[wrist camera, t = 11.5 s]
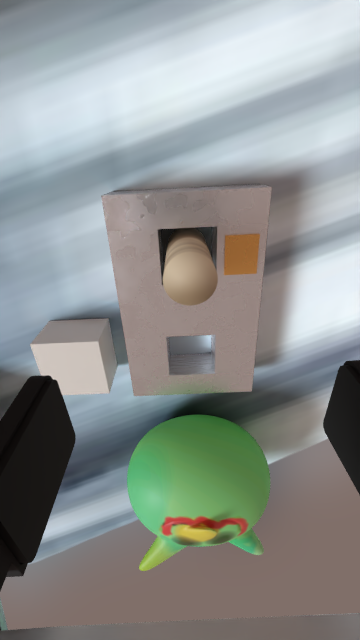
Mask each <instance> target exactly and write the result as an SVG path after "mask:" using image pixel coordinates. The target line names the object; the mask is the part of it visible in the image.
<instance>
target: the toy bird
mask: <svg viewBox="0 0 360 640" xmlns="http://www.w3.org/2000/svg"><path fill="white" fill-rule="evenodd" d="M127 486H128V494H129V498H130V502H131V505H132V507H133V509H134V511H135V513H136V515H137V517H138V518H139V519H140V521H141V522H142V523H143V524H144V525H145V526H146V527H147V528H148V529H149V530H150V531H151V532H153V533H154V534H156V535H157V538H156V540H155V541H154V543H153V544H152V546H151V547H150V549H149V550H148V552H147V553H146V555H145V556H144V558H143V560H142V561H141V563H140V566H139V569H140V570H141V571H147V570H149V569H152V568H153V567H155V566H157V565H159V564H160V563H162V562H163V561H165V560H166V559H168V558H170V557H171V556H173V555H174V554H176V553H177V552H179V551H180V550H182V549H183V548H185V547H187V546H196V547H198V546H199V547H202V546H213V545H218V544H222V543H225V542H230V543H232V544H234V545H236V546H237V547H239V548H241V549H243V550H245V551H247V552H250V553H252V554H255V555H261V554H263V552H264V549H263V546H262V544H261V542H260V540H259V539H258V537H257V536H256V534H255V533H254V531H253V530H252V527H253V526H254V525H255V524H256V523H257V522H258V520H259V519H260V517H261V516H262V514H263V512H264V510H265V508H266V505H267V502H268V498H269V493H270V473H269V468H268V464H267V461H266V458H265V455H264V453H263V451H262V449H261V448H260V446H259V445H258V443H257V442H256V440H255V439H254V438H253V437H252V436H251V435H250V434H249V433H248V432H247V431H246V430H244V429H243V428H242V427H240V426H239V425H237V424H235V423H233V422H231V421H228V420H226V419H223V418H219V417H215V416H210V415H186V416H180V417H176V418H173V419H170V420H167V421H165V422H163V423H161V424H159V425H157V426H156V427H154V428H153V429H151V430H150V431H149V432H148V433H147V434H146V435H145V436H144V437H143V438H142V439H141V440H140V442H139V443H138V445H137V446H136V448H135V450H134V452H133V454H132V457H131V460H130V463H129V468H128V475H127Z"/></svg>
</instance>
